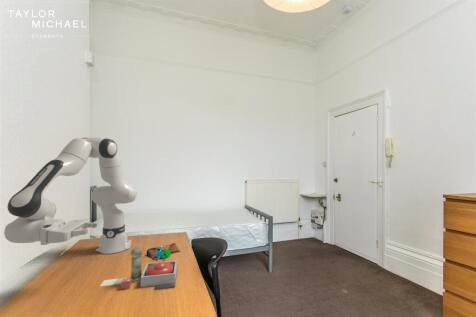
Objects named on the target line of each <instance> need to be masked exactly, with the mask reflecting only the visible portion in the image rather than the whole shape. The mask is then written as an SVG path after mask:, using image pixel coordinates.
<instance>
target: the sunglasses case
mask: <svg viewBox="0 0 476 317" xmlns="http://www.w3.org/2000/svg"><path fill="white" fill-rule="evenodd" d="M160 247H161V248H162V250H166V249H167V250H169V251H170V253H171V254H170V255H172V254H176V253H180V252H181V250H180V249H179V248H178V246H177V245H176V243H175V242H174V243H173V242H172V243H170V244H166V245H165V244H164V245H161V246H157V248H156V247H151V248H148V249H147V250H146V256H147V257H149V259H151V260H153V259H152V258H154V257H155V256H154V254H158V253H157V251H156V250H155V248H156V249H157V250H158V251H160ZM157 258H158V257H156V258H155V259H157Z"/></svg>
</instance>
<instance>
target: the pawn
mask: <svg viewBox="0 0 476 317" xmlns="http://www.w3.org/2000/svg"><path fill="white" fill-rule="evenodd" d="M142 255H143V250H142V248H141V247H138V246H137V247H134V248H133V249H132V250H131V252H130V256H131V266H130V268H131V269H130V270H131V271H130V272H131V273H130V274H131V275H130V277H129V278H132V280H131V282H137V283H140V282H139V281H141V276H142Z"/></svg>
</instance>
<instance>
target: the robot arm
mask: <svg viewBox="0 0 476 317" xmlns="http://www.w3.org/2000/svg"><path fill="white" fill-rule="evenodd" d="M118 151H119V150H118V145H117V143H116V142H115V141H114V140H113V139H110V138H104V137H82V138H81V137H76V138H73V139H72V140H70V141H69V142H68V143H67V144H66V145H65V146H64V147H63V149H62V150H61V151H60V153H59V154H58V155H57V157H55V158H54V159H52V160H49V161H48V162H47V163H45V165H43V167H41V169H40V170H38V171H37V172H36V174H35V175H34V176H33V177H32V178H31V179H30V180H29V181H28V183H27V184H25V186H24V187H23V188H21V189H20V190H19V191H17V192H16V193H15V194H14V195H13V196H11V198H10V199H9V200H8V203H7V211H8V213H9V214H11V215H12V216H14V217H17V218H16V219H14V220H13V221H11V222H9V223H7V224H6V226H5V227H4V231H3V232H4V233H3V234H4V237H5V239H6V240H7V241H8V242H11V243H13V244H32V243H33V244H34V243H36V242H40V246H47V245H49V244H58V243H63V242H68V241H69V240H71V239H72V238H74V237H78V236H85V235H87V234H88V231H89V230H88V228H91V229H95V228H97V227H98V223H97V222H92V221H90V219H88V218H82V219H80V218H79V219H73V220H69V221H68V222H66V221H65V220H64V219H62V218H54V217H55V215H56V212H57V207H56V205H55V203H54V202H52V201H51V200H49V199H47V198H45V197H44V196H43V194H44V192H45V191H46V189H47V188H48V187H49V186H50V185H51V183H52V182H53V181H54V180H55V179H56V178H58V177H59V176H63V177H64V176H65V177H72V176H75V175H78V174H79V172H81V171H82V169H83V168H84V166H85V164H86V163H87V162H88V159H89V158H91V159H92V158H93V159H97V158H98V163H99V173H100V177H101V179H102V181H104V182H106V183H107V184H108V185H104V186H97V187H95V188H94V189H93V190H92V192H91V195H90V196H91V200H92V202H93V203H95V204H96V205H97V207H99V208H100V211H101V212H102V216H103V217H102V218H103V227H102V230H101V231H102V232H101V233H102V235H100V237H99V244H98V248H96V250H95V251H96V252H99V253H100V254H104V255H105V254H106V255H108V254H116V253H120V252H123V251H126V250H130V248H131V245H132V240H131V239H128V237H129V236H128V233H127V232H126V223H125V213H124V211H123V210H122V209H120V208H118V207H117V205H118V204H121V205H123V204H128V203H133V202H134V201H135V199H136V198H137V190H136V188H135V187H133V185H131V184H130V183H128V182H127V181H126V179H125V177H124V176H123V175H124V174H123V171H122V164H121V163H122V162H121V158H120V154H119V152H118ZM116 204H117V205H116Z"/></svg>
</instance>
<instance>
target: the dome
mask: <svg viewBox="0 0 476 317" xmlns="http://www.w3.org/2000/svg"><path fill="white" fill-rule="evenodd" d="M154 263H155V264H152V265H150V266H149V267H148V268H147V276H152V275H162V274H172V273H173V264H172V263H169V262H168V261H159V263H157V262H154Z"/></svg>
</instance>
